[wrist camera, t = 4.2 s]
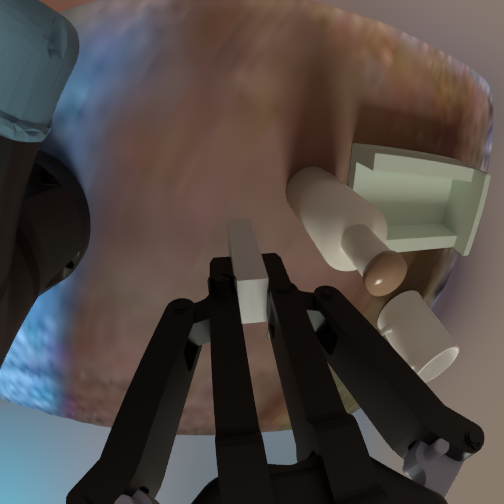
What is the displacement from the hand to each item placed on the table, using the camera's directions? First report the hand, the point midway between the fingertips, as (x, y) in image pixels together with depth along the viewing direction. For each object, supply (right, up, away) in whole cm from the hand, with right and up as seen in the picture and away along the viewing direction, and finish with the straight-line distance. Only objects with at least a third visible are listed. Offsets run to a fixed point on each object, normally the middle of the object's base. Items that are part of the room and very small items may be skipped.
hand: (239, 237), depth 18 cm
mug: (+23, -10, +20) cm, 32 cm away
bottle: (+7, +5, +8) cm, 12 cm away
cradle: (+19, +6, +10) cm, 22 cm away
